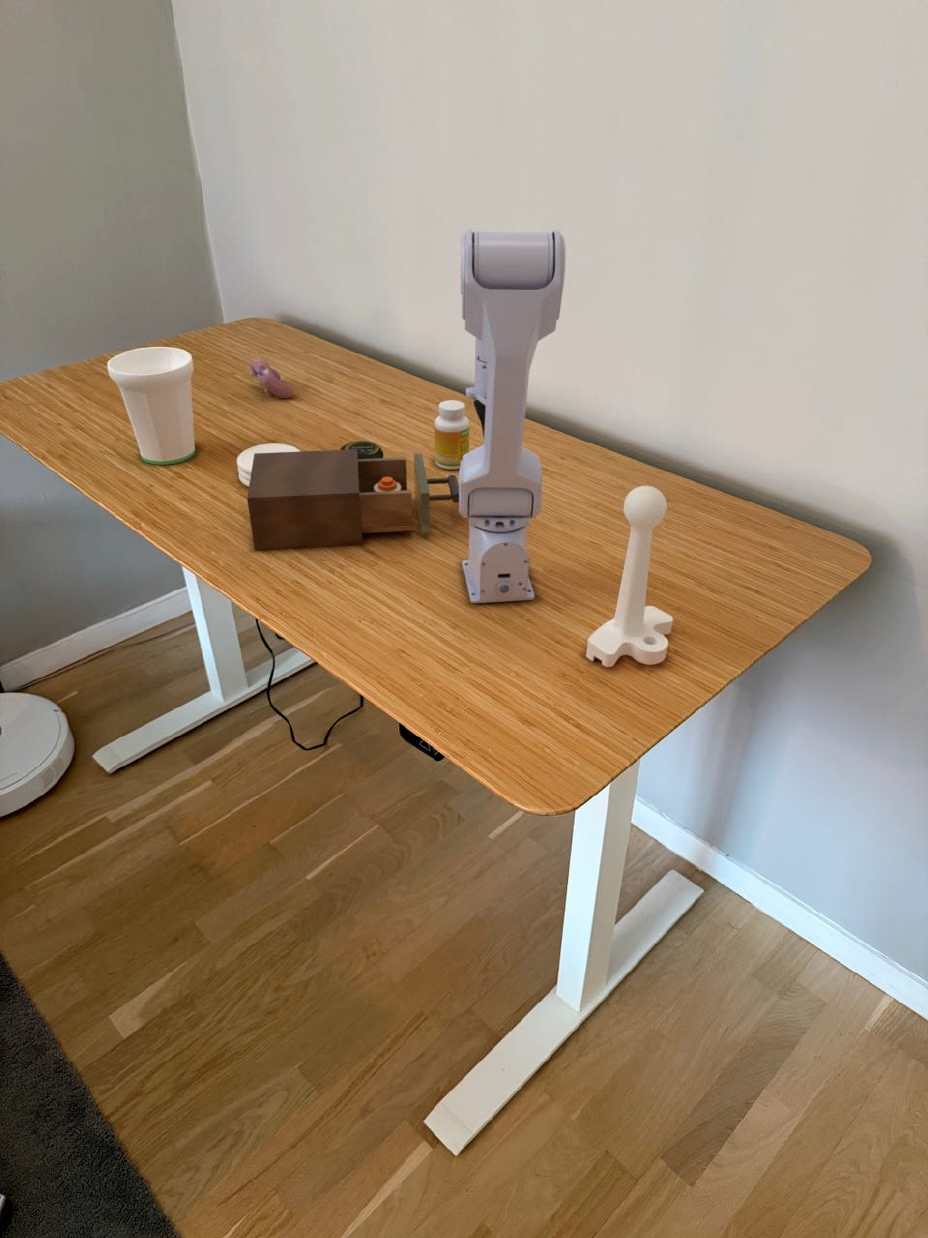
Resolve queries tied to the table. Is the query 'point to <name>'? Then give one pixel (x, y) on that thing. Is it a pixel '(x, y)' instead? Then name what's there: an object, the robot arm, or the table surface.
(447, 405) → the supplement bottle
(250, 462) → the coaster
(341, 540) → the cabinet
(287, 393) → the pink animal figurine
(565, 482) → the table surface
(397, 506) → the drawer
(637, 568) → the joystick
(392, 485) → the glue bottle
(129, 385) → the cup
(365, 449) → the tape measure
